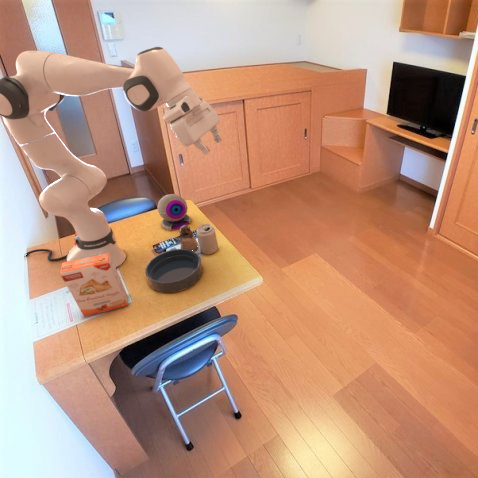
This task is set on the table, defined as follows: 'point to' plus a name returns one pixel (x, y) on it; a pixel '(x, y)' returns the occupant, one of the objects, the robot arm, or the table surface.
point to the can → (207, 239)
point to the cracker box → (94, 284)
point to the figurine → (187, 239)
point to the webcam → (173, 212)
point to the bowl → (174, 270)
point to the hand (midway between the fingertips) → (213, 147)
